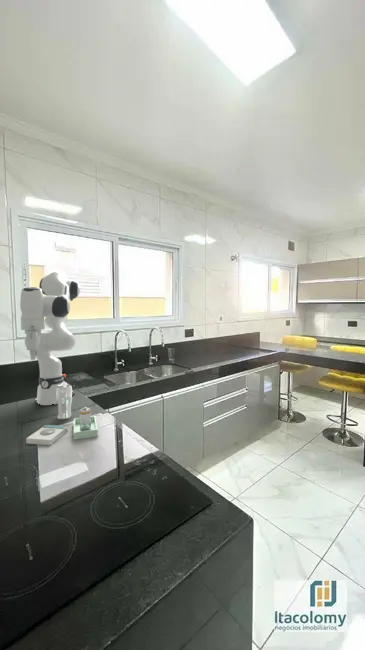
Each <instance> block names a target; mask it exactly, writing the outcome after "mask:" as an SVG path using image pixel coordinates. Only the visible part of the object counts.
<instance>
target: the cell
mask: <svg viewBox="0 0 365 650" xmlns="http://www.w3.org/2000/svg"><path fill="white" fill-rule="evenodd" d="M91 416H92V409H91V408H90V407H87V406H84V407H82V408H80V409H79V418H80V431H86V430H91Z"/></svg>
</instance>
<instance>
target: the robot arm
mask: <svg viewBox="0 0 365 650" xmlns="http://www.w3.org/2000/svg"><path fill="white" fill-rule="evenodd" d="M80 292H81V285H80V282H79V281H77V280H74V279H69V278H67V274H66V273H65V272H64V271H63V270H61V269H57V268H56V269H53V270H51V271H49V272H48V273H46V274H45V276H44V277H42V278H41V279H40V281H39V287H36V286H35V287H33V286H32V287H31V286H30V287H24V288H22V289H21V291H20V301H19V303H20V305H19V306H20V311H21V316H20V330H21V331H24V335H25V338H24V346H25V347H26V351H29V355H30V356H29V357H30V360H31V361H35V360H37V361H38V367H39V377H38V384H39V385H37V392H36V397H35V400H37V401H36V404H37V403H38V405H39V404H40V406H53V405H52V404H54V405H58V404H57V398H56V392H57V386H59V385H64V384H68V383H67V382H66V381H65V379H66V378H67V374H66V373H64V374H63V373H62V372H63V367H62V363H63V362H62V360H61V359H60V358H58V357H56V356H54V355H53V353H52V352H66V351H71V350H72V349H73V348H74V347H75V344H76V337H75V336H74V334H73V333H72V332H71V331H69V330H68V328H67V320H68V316H69V313H70V310H71V304H70V302H72V301H73V300H74V299H76V298H77V297H78V296H79V295H80ZM45 326H47V327H48V328H49V329H51V330H50V331H49V330H48V331H46V330H45ZM42 330H45V331H42Z"/></svg>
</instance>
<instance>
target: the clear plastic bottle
mask: <svg viewBox="0 0 365 650" xmlns="http://www.w3.org/2000/svg"><path fill="white" fill-rule="evenodd" d="M72 392H73V385H71V384H69V383H67V384H64V385H59V386H57V392H56V398H57V404H56V405H57V409H58V414H57V419H58V420H60V421H61V420H63V421H64V420H68V419H70V418H71V417H72V416H73V415H72V411H71V409H72V408H71V407H72V402H73V397H72Z"/></svg>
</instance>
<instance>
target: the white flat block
mask: <svg viewBox="0 0 365 650" xmlns="http://www.w3.org/2000/svg"><path fill="white" fill-rule="evenodd" d="M67 432H68V426H66V425H55V424H54V425H53V424H44V425H43V426H42V427H41V428H39V429H38V430H36V431H35V432H33V433H32V434H31V435H29V436H28V437H26V438H25V439H26V440H25V441H26V442H25V443H26V444H29V445H45V446H46V445H47V446H52V445H53V444H54V443H56V442H57V441H58V440H59V439H60V438H61V437H62V436H64V435H65V434H66V433H67Z"/></svg>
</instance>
